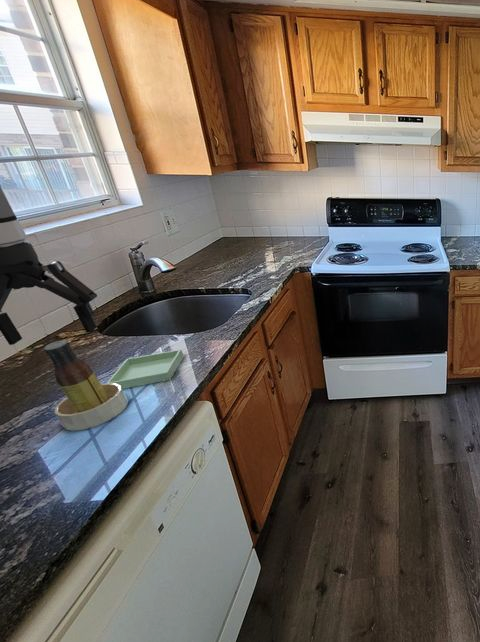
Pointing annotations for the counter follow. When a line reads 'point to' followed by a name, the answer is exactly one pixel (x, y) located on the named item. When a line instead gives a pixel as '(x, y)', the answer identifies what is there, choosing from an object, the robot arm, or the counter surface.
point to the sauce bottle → (75, 377)
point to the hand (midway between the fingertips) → (55, 335)
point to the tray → (147, 369)
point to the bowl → (92, 410)
